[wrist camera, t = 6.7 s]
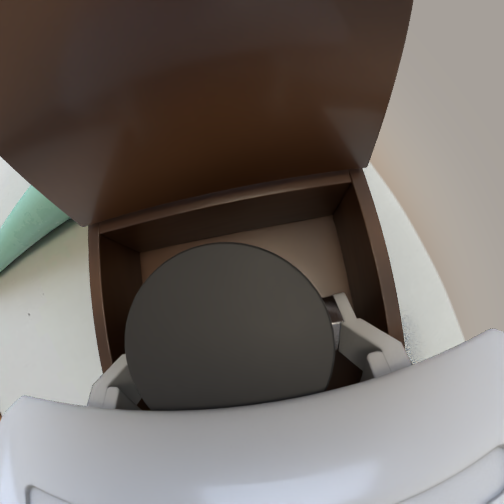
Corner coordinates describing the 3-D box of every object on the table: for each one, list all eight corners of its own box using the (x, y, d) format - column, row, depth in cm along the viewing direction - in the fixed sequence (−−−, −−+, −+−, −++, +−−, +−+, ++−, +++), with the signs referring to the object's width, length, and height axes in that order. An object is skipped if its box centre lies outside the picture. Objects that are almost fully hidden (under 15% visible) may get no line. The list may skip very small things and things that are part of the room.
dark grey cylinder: (310, 369, 15) (347, 429, 7) (207, 385, 16) (148, 448, 7) (292, 267, 17) (312, 222, 8) (190, 286, 17) (112, 262, 8)
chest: (374, 399, 15) (410, 431, 10) (166, 430, 16) (130, 466, 10) (338, 206, 18) (361, 165, 12) (134, 246, 19) (87, 223, 13)
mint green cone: (-57, 265, 15) (91, 106, 15) (-27, 273, 20) (122, 143, 21) (-54, 310, 14) (99, 155, 14) (-22, 313, 19) (137, 189, 20)
